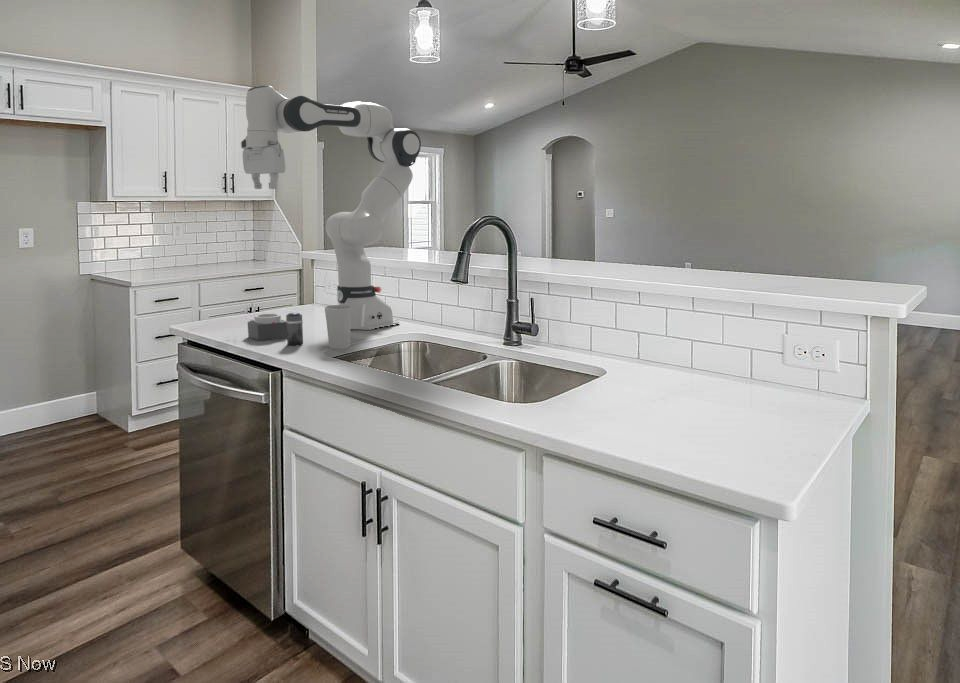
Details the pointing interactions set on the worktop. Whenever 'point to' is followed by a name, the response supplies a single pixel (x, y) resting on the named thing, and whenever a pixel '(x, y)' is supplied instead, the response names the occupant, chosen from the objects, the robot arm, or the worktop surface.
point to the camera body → (267, 327)
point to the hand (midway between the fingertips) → (265, 189)
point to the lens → (294, 329)
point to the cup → (338, 325)
